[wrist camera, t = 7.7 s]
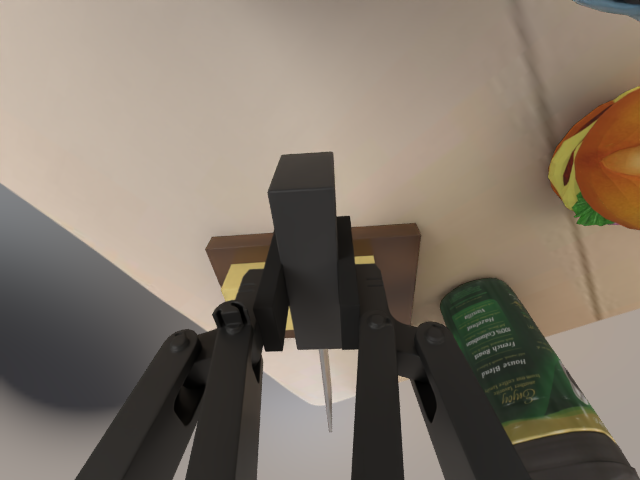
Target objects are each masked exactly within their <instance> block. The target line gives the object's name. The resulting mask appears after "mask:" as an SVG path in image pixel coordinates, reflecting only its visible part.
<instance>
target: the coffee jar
mask: <svg viewBox="0 0 640 480" xmlns="http://www.w3.org/2000/svg"><path fill="white" fill-rule="evenodd" d="M440 310H441V313H442V316H443V319H444V321H445V324H446V326H447V328H448V329H449V330H450V332H451V333H452V334H453V336H454V338H455V340H456V341H457V343H458V345H459V347H460V349H461V351H462V352H463V354H464V356H465V358H466V360H467V362H468V363H469V365H470V367H471V369H472V371H473V373H474V374H475V376H476V378H477V380H478V382H479V384H480V385H481V387H482V389H483V391H484V393H485V395H486V396H487V398H488V400H489V402H490V404H491V406H492V407H493V409H494V411H495V413H496V415H497V417H498V418H499V420H500V422H501V424H502V426H503V428H504V430H505V431H506V433H507V435H508V437H509V439H510V441H511V442H512V444H513V446H514V448H515V450H516V452H517V453H518V455H519V457H520V459H521V461H522V463H523V464H524V466H525V468H526V470H527V472H528V474H529V475H530V477H531V479H532V480H640V478H639V477H638V475H637V472H636V470H635V468H633V467H631V466H630V464H629V462H628V461H627V459H626V458H625V456H624V454H623V453H622V451H621V449H620V448H619V446H618V445H617V443H616V442H615V440H614V439H613V437H612V436H611V435H610V433H609V432H608V430H607V429H606V427H605V426H604V424H603V423H602V421H601V420H600V418H599V417H598V415H597V414H596V412H595V411H594V409H593V408H592V407H591V405H590V403H589V402H588V400H587V399H586V398H585V396H584V395H583V393H582V392H581V390H580V389H579V387H578V386H577V384H576V383H575V381H574V380H573V378H572V377H571V376H570V374H569V372H568V371H567V370H566V368H565V367H564V365H563V364H562V362H561V361H560V359H559V358H558V356H557V355H556V353H555V352H554V351H553V349H552V348H551V346H550V345H549V344H548V342H547V341H546V339H545V338H544V336H543V335H542V333H541V332H540V330H539V329H538V327H537V326H536V324H535V323H534V321H533V319H532V318H531V316H530V315H529V313H528V312H527V310H526V309H525V307H524V306H523V304H522V303H521V302H520V300H519V299H518V297H517V296H516V294H515V293H514V292H513V290H512V289H511V288H510V287H509V286H508V285H507V284H506V283H505V282H504V281H502V280H499V279H497V278H484V279H480V280H474V281H471V282H468V283H465V284H463V285H461V286H459V287H457V288H455V289H454V290H453V291H451V292H450V293H449V294H447V295H446V296H445V297H444V298H443V300H442V301H441V304H440Z"/></svg>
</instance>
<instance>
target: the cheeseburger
mask: <svg viewBox="0 0 640 480" xmlns="http://www.w3.org/2000/svg"><path fill="white" fill-rule="evenodd" d="M548 170H549V174H548V178H549V180H550V182H551V187H552V189H553V191H554V192H555V193H556V194H557V195H558V196H559V197H560V199H561V200H562V201H563V202H564V204H565V207H567V208H568V209H570V210H572V211H574V212H575V214H576V216H574V217H579V216H580V218H579V220H578V222H577V223H576V224H582V225H584V226H589V225H599V226H603V225H606V224H608V225H622V226H624V227H627V228H629V229H636V230H640V86H638V87H636V88H633V89H631V90H629V91H626V92H625V93H623V94H621V95H620V96H618V97H617V98H616V99H614V100H612V101H609V102H607V103H605V104H602V105H600V106H598V107H597V108H596V109H594V110H593V111H592V112H590V113H589V114H588V115H587V116H585V117H584V118H583V119H581V120H580V121H579V122H577V123H576V124H575V125H574V126H573V127H572V128H571V129H570V131H569V132H568V133H567V134H566V136H565V137H564V138H563V139H562V141H561V142H560V143H559V144H558V146H557V147H556V149H555V152H554V155H553V157H552V160H551V163H550V165H549V168H548Z"/></svg>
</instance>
